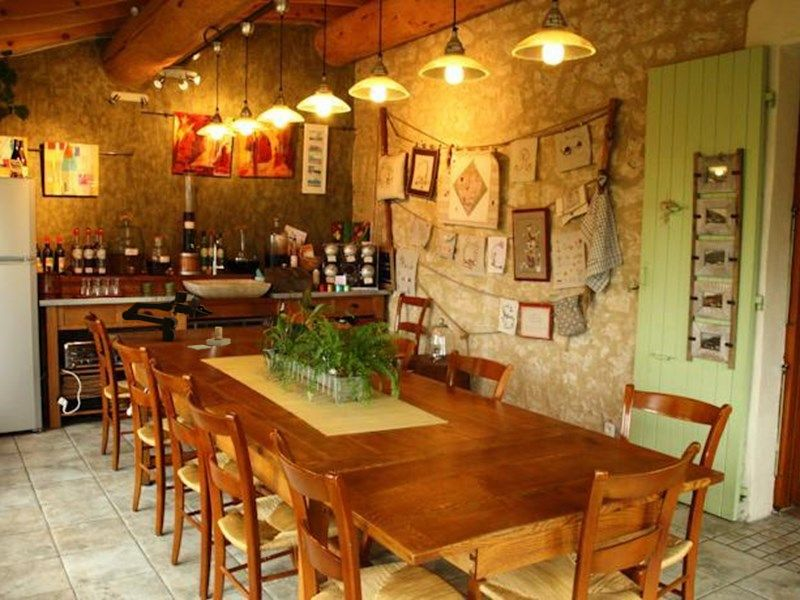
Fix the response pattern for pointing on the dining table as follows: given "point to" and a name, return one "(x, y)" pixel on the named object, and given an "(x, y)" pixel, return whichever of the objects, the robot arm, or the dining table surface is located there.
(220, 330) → the post
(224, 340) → the collar
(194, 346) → the pad
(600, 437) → the dining table surface
